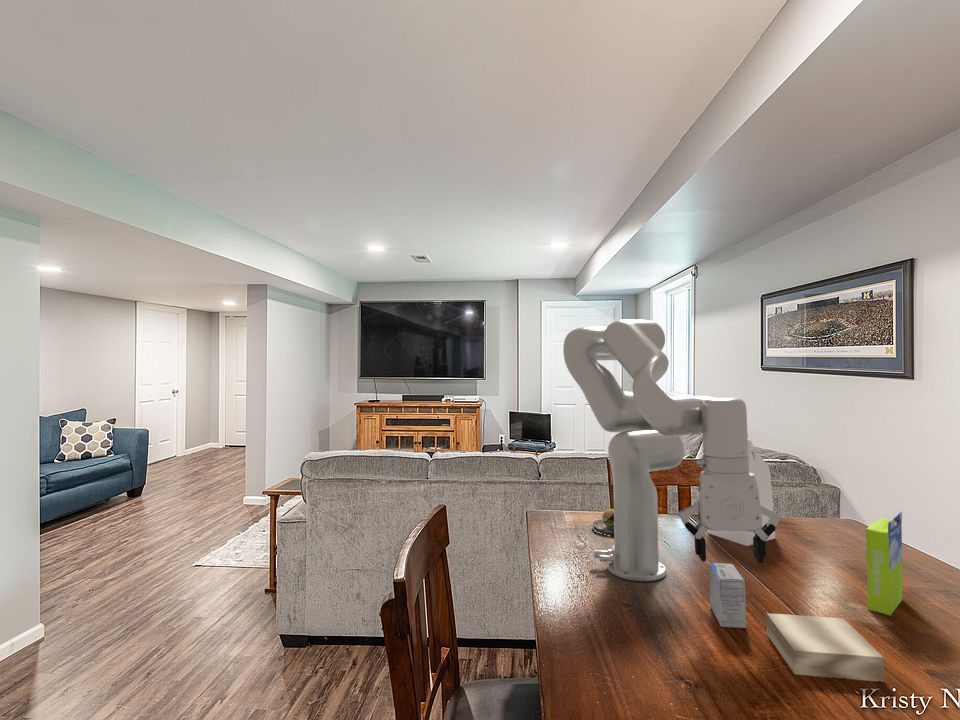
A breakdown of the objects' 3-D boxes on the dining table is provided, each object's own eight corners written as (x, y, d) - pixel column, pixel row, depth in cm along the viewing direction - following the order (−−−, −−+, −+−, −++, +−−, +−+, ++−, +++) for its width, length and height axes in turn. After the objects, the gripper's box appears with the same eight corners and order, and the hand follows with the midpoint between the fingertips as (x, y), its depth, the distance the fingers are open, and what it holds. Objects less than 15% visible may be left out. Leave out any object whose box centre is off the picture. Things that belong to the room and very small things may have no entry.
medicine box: (746, 629, 93) (745, 580, 93) (719, 627, 94) (718, 578, 94) (734, 609, 101) (733, 563, 101) (709, 607, 102) (708, 561, 102)
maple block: (794, 677, 80) (794, 650, 80) (766, 636, 92) (766, 613, 92) (884, 684, 78) (883, 657, 78) (843, 642, 90) (843, 618, 90)
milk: (707, 532, 146) (705, 437, 146) (734, 526, 151) (733, 434, 151) (747, 546, 135) (745, 443, 135) (775, 538, 140) (773, 439, 141)
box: (879, 593, 107) (877, 507, 107) (905, 599, 104) (903, 511, 104) (865, 610, 100) (864, 517, 100) (892, 617, 97) (891, 522, 97)
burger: (612, 541, 141) (612, 512, 141) (583, 529, 151) (583, 502, 151) (645, 533, 147) (645, 506, 147) (615, 522, 157) (615, 497, 157)
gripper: (680, 468, 95) (684, 565, 95) (785, 469, 92) (789, 569, 92) (673, 462, 103) (676, 551, 102) (769, 462, 100) (774, 554, 99)
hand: (730, 559), depth 97 cm, fingers open, 9 cm apart
